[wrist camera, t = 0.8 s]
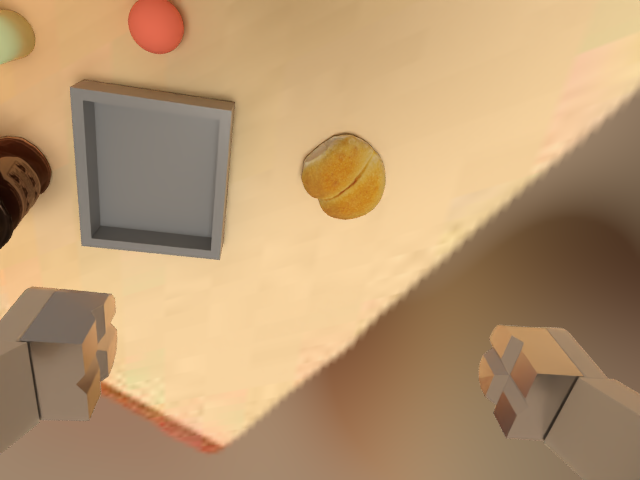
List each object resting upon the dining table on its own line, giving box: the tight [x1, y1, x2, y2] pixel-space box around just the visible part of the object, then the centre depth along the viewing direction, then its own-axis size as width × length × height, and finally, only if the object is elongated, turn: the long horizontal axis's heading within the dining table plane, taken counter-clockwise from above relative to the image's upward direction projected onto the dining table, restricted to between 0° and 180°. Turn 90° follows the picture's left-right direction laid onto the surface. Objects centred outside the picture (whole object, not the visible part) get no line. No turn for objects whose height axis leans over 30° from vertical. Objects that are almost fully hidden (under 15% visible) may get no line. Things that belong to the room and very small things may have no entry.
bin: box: [70, 80, 235, 260], centre depth 48 cm, size 16×14×4 cm
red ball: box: [128, 0, 184, 54], centre depth 41 cm, size 4×4×4 cm
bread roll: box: [302, 135, 386, 220], centre depth 50 cm, size 8×9×4 cm
